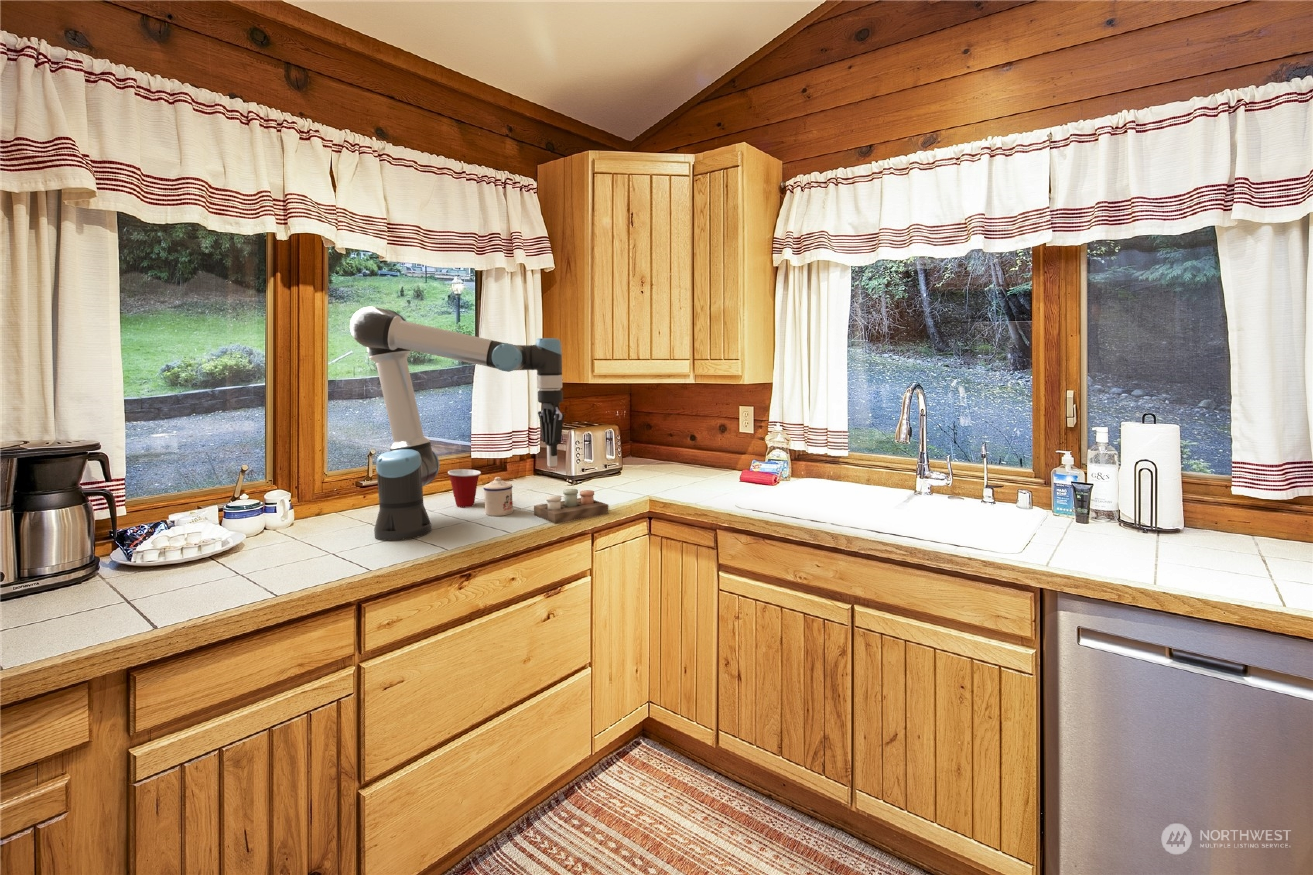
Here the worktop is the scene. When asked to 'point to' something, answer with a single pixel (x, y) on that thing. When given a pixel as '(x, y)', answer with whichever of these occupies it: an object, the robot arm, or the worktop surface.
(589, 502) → the pink short cylinder
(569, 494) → the sage button
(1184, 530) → the worktop surface
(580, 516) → the button board
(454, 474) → the plastic cup
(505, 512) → the teacup with lid
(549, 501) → the cream button
